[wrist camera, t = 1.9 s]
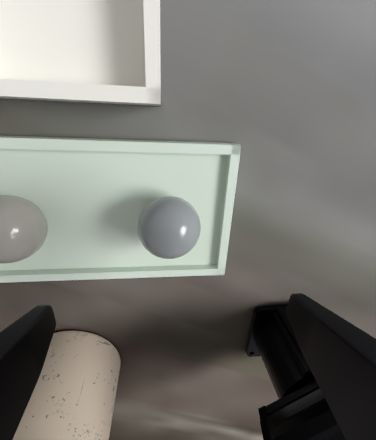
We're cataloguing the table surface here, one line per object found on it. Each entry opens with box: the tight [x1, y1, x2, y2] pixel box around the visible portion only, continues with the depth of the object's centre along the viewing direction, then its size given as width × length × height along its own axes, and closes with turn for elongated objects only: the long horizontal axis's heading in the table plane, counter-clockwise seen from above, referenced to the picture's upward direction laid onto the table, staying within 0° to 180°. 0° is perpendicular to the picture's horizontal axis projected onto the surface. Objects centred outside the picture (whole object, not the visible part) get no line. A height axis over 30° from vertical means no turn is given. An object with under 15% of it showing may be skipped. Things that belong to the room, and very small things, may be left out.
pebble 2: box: [137, 196, 201, 259], centre depth 15 cm, size 4×4×4 cm
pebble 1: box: [0, 195, 48, 263], centre depth 14 cm, size 4×4×4 cm
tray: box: [0, 135, 241, 283], centre depth 16 cm, size 10×18×1 cm, turn 87°
